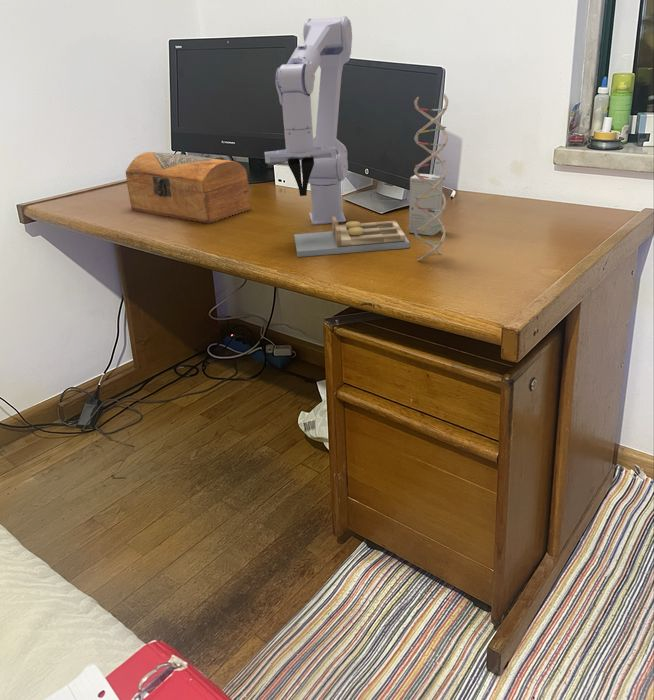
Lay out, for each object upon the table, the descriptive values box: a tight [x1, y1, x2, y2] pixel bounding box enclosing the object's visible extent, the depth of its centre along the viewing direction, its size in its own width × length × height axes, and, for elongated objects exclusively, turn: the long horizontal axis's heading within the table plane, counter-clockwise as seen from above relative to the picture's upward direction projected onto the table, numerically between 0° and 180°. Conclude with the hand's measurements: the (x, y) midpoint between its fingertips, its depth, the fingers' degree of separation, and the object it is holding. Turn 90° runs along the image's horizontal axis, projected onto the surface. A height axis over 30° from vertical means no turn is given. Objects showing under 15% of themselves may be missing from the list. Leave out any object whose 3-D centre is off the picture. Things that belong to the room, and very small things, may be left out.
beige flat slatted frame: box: [331, 216, 406, 246], centre depth 144 cm, size 11×14×3 cm
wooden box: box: [125, 151, 252, 224], centre depth 176 cm, size 30×16×14 cm, turn 51°
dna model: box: [413, 93, 449, 262], centre depth 128 cm, size 7×6×30 cm
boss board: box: [293, 220, 411, 258], centre depth 144 cm, size 12×23×4 cm, turn 95°
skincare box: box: [408, 173, 444, 236], centre depth 147 cm, size 6×4×12 cm
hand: (303, 194), depth 145 cm, fingers closed
